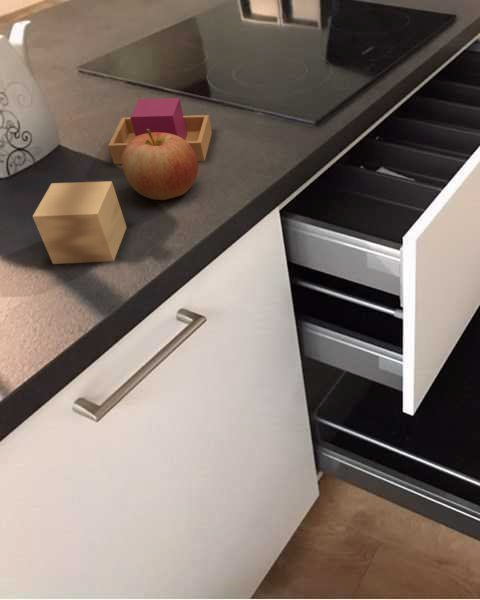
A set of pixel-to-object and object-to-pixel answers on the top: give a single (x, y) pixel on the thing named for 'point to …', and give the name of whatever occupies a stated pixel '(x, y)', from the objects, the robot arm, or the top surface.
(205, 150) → the tray
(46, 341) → the top surface
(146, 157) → the apple
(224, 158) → the top surface
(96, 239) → the birch block
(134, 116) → the pink block
